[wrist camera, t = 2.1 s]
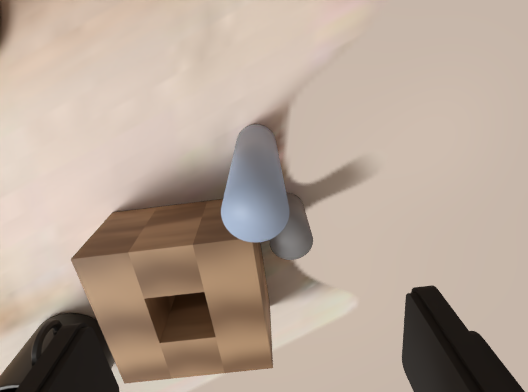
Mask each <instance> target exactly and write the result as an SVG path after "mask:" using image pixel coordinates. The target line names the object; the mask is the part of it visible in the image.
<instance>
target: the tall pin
mask: <svg viewBox="0 0 528 392" xmlns="http://www.w3.org/2000/svg"><path fill="white" fill-rule="evenodd" d="M221 217H222V221H223V223H224V225H225V227H226V228H227V230H228V231H229V232H230V233H231V234H232V235H234V236H235V237H237V238H238V239H241V240H243V241H247V242H264V241H267V240H270V239H272V238H274V237H276V236H277V235H278V234H279V233H280V232H281V231H282V230H283V229H284V228H285V226H286V224H287V222H288V219H289V204H288V199H287V194H286V189H285V184H284V179H283V174H282V169H281V164H280V159H279V154H278V149H277V144H276V139H275V136H274V134H273V133H272V131H271V130H270V129H268V128H267V127H265V126H263V125H259V124H253V125H249V126H247V127H245V128H244V129H243V130H242V131H241V132H240V133H239V135H238V138H237V141H236V146H235V150H234V154H233V159H232V163H231V167H230V172H229V176H228V180H227V185H226V189H225V193H224V198H223V202H222V207H221Z"/></svg>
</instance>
